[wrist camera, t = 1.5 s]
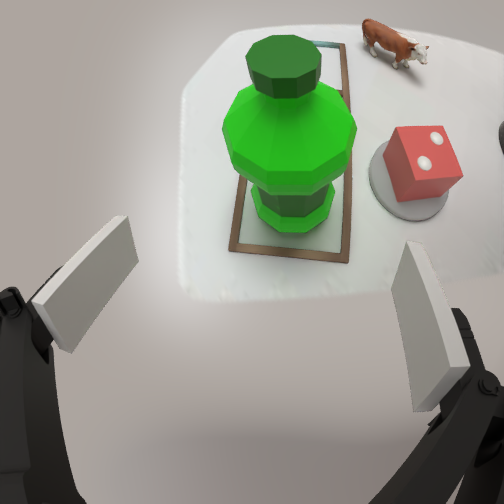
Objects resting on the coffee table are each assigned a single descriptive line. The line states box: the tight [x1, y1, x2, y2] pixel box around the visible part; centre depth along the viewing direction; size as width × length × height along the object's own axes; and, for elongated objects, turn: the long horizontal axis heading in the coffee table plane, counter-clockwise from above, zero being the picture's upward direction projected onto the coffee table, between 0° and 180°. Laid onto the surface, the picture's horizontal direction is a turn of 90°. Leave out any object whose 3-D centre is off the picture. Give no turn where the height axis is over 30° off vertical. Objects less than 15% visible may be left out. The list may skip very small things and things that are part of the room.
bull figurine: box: [362, 19, 429, 69], centre depth 37 cm, size 4×13×8 cm, turn 42°
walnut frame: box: [228, 41, 352, 263], centre depth 40 cm, size 15×40×1 cm, turn 172°
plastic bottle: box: [222, 35, 357, 233], centre depth 26 cm, size 10×10×25 cm
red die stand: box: [369, 126, 463, 221], centre depth 32 cm, size 12×12×9 cm
